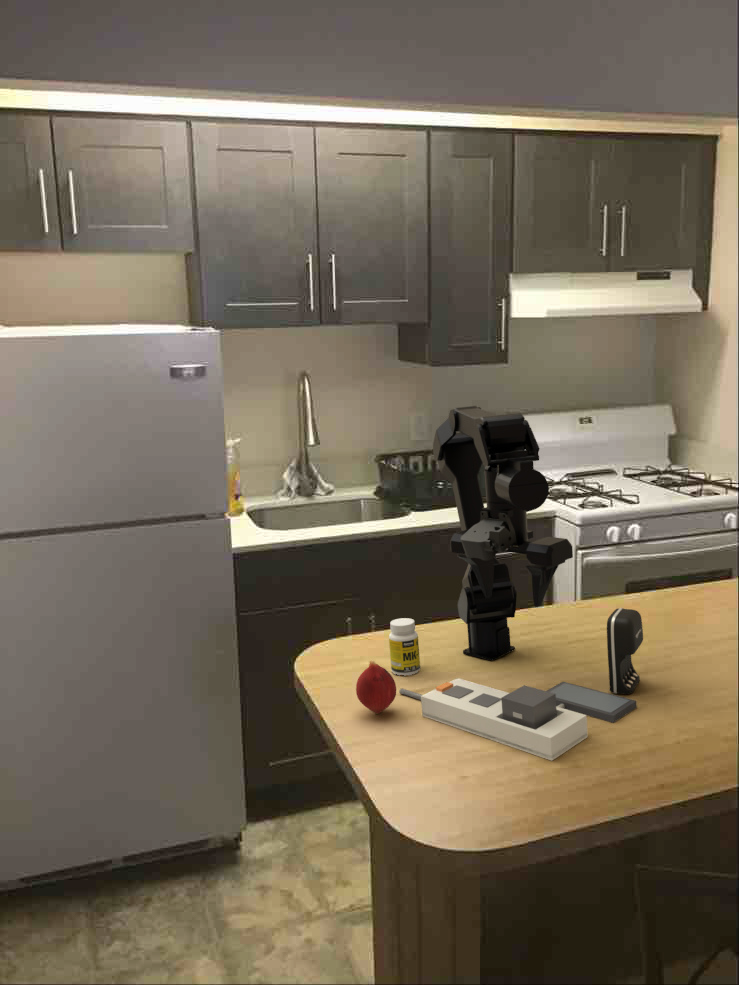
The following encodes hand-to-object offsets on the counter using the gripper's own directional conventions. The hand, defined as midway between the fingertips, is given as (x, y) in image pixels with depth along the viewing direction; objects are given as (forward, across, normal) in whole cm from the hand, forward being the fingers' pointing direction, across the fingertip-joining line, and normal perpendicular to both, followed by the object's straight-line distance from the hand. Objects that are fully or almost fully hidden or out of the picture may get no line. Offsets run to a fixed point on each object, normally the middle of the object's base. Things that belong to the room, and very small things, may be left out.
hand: (512, 601), depth 126 cm
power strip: (+13, +3, -13) cm, 19 cm away
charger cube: (+12, +12, -13) cm, 22 cm away
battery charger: (+13, +14, +8) cm, 21 cm away
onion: (+13, -10, -20) cm, 26 cm away
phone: (+13, +12, -4) cm, 18 cm away
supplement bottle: (+13, -18, -6) cm, 23 cm away
